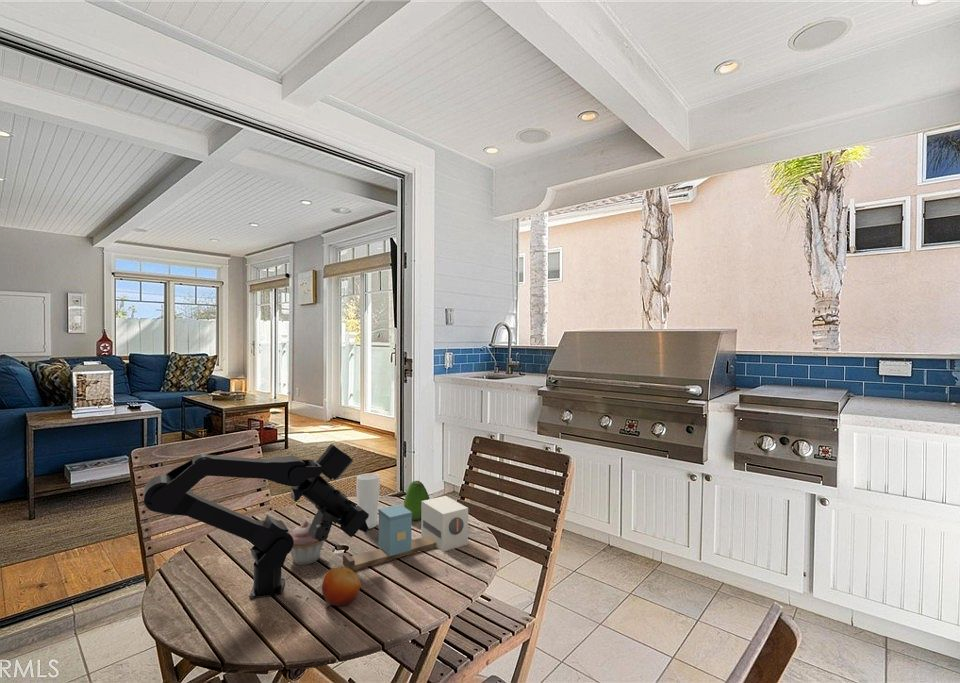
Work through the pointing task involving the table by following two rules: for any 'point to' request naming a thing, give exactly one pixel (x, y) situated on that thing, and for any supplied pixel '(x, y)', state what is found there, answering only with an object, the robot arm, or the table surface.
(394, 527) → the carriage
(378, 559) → the rail
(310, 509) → the table surface
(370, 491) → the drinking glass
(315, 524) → the robot arm
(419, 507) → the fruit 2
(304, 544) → the cupcake
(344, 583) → the fruit
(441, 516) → the cabinet
